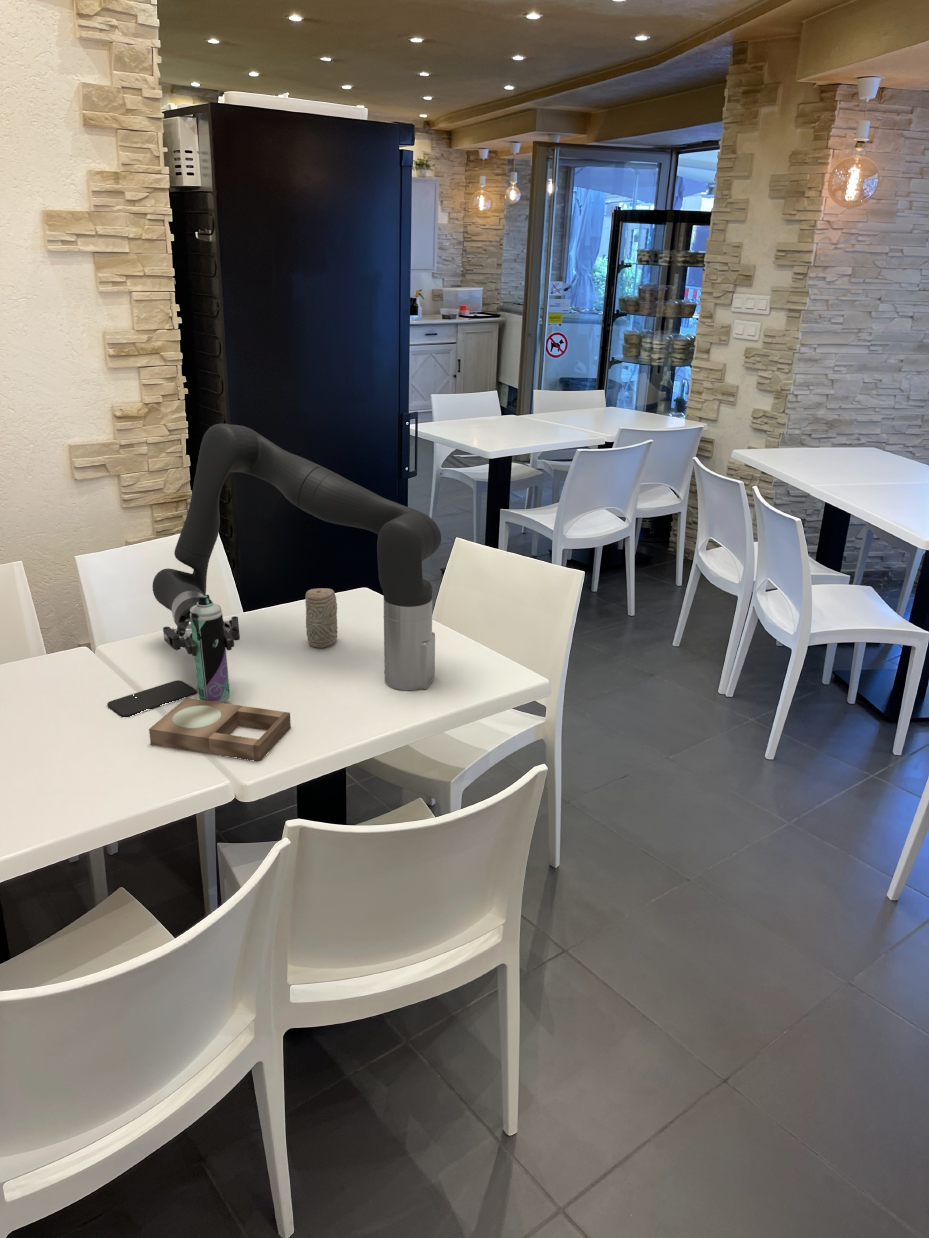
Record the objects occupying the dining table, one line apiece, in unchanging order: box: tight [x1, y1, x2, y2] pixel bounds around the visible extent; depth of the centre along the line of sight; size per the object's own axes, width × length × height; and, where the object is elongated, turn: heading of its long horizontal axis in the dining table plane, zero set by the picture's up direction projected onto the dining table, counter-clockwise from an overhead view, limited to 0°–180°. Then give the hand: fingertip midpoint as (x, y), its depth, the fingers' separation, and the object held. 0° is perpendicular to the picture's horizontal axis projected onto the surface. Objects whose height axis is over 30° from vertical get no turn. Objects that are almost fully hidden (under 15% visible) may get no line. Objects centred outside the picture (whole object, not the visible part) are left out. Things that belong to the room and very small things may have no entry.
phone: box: [106, 680, 198, 718], centre depth 167 cm, size 7×1×15 cm
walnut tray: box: [148, 697, 292, 762], centre depth 154 cm, size 20×12×3 cm, turn 76°
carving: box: [304, 587, 338, 649], centre depth 190 cm, size 6×8×12 cm
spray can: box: [190, 594, 231, 703], centre depth 161 cm, size 6×6×20 cm
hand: (212, 648), depth 158 cm, fingers closed on spray can, 5 cm apart
